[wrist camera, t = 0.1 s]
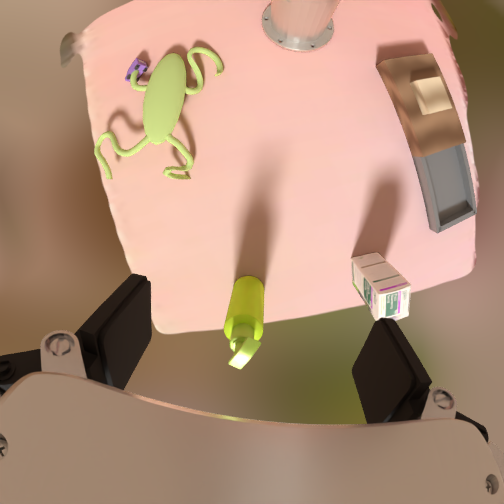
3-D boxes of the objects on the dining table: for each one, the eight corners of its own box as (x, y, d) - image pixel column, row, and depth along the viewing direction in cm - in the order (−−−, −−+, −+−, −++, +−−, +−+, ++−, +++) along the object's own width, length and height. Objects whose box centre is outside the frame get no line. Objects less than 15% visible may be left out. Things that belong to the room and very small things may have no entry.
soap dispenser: (272, 280, 51) (275, 351, 32) (254, 307, 53) (247, 382, 34) (245, 265, 50) (233, 332, 31) (228, 293, 52) (209, 365, 33)
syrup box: (349, 257, 48) (376, 294, 35) (378, 250, 48) (412, 285, 34) (352, 283, 50) (376, 326, 37) (379, 277, 49) (410, 316, 36)
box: (412, 156, 41) (420, 156, 38) (454, 141, 39) (463, 142, 36) (429, 228, 45) (437, 233, 42) (468, 209, 43) (476, 213, 40)
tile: (409, 83, 33) (416, 80, 30) (432, 78, 32) (439, 76, 29) (422, 114, 34) (429, 113, 32) (445, 109, 33) (452, 108, 31)
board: (375, 66, 35) (384, 60, 32) (422, 58, 33) (432, 53, 29) (412, 156, 41) (423, 157, 37) (454, 141, 39) (466, 142, 35)
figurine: (103, 172, 45) (87, 175, 40) (140, 45, 36) (127, 35, 31) (187, 195, 46) (177, 200, 41) (231, 55, 37) (226, 43, 32)
